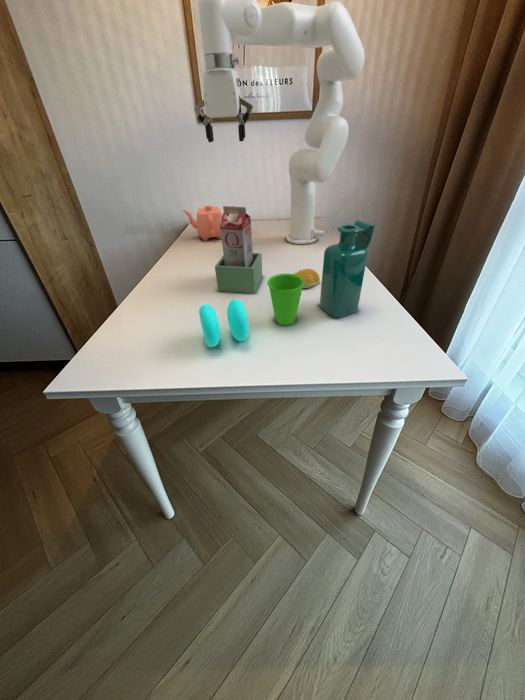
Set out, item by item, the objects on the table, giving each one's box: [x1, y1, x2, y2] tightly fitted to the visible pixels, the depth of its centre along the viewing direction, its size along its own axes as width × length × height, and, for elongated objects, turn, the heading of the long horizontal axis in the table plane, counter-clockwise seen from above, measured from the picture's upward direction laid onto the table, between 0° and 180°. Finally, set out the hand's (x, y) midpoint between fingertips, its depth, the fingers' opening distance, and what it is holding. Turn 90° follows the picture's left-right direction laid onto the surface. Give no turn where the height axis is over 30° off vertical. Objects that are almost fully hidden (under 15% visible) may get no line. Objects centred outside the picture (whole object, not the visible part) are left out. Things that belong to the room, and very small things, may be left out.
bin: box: [214, 252, 263, 294], centre depth 96 cm, size 12×12×8 cm
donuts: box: [198, 298, 250, 348], centre depth 72 cm, size 10×10×10 cm
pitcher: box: [319, 219, 376, 319], centre depth 78 cm, size 10×8×22 cm
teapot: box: [181, 204, 236, 242], centre depth 132 cm, size 15×17×13 cm
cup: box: [266, 273, 305, 326], centre depth 78 cm, size 9×9×11 cm
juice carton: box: [220, 205, 254, 267], centre depth 91 cm, size 7×7×22 cm
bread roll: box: [293, 268, 321, 289], centre depth 97 cm, size 8×9×4 cm
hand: (226, 141), depth 94 cm, fingers open, 9 cm apart
